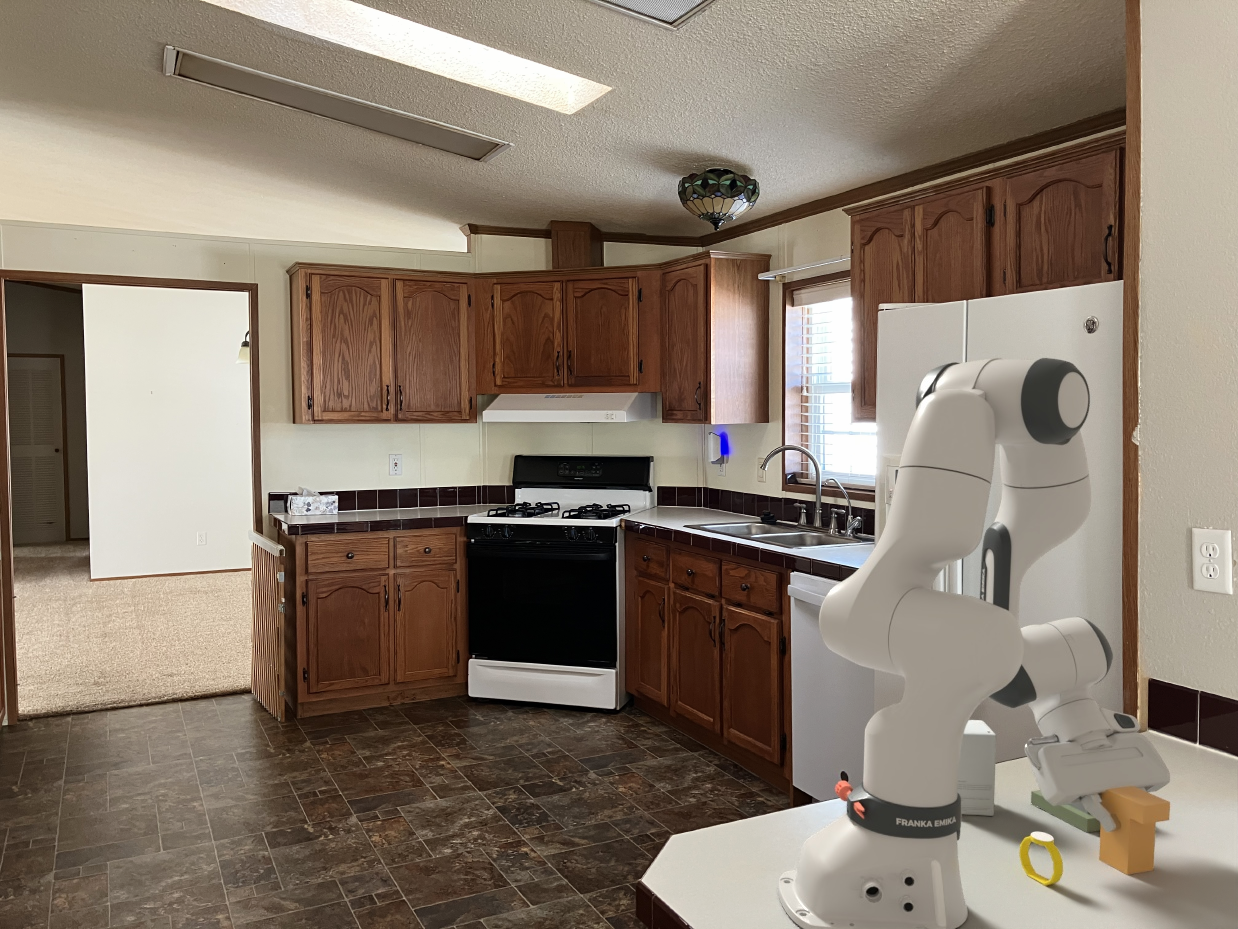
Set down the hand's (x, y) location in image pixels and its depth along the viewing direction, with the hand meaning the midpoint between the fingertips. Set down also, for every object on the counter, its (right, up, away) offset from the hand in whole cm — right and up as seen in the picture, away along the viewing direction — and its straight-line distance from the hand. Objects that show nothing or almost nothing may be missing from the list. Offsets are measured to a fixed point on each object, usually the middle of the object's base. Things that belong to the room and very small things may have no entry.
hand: (1131, 827), depth 129 cm
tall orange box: (0, -5, +1) cm, 5 cm away
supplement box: (-16, -4, +20) cm, 26 cm away
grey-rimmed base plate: (+3, -5, +18) cm, 19 cm away
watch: (-14, -6, -4) cm, 16 cm away
